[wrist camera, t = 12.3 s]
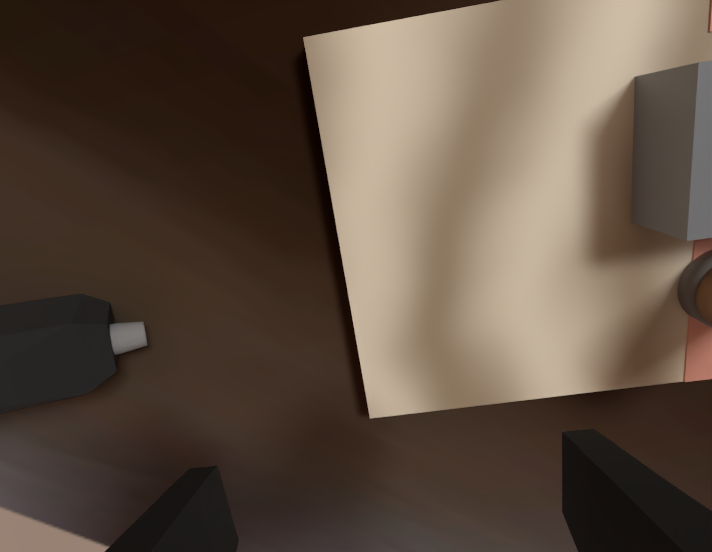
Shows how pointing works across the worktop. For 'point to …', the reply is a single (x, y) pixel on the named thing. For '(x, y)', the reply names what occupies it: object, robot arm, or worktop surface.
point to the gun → (59, 348)
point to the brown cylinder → (697, 289)
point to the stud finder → (673, 151)
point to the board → (502, 199)
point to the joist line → (699, 323)
